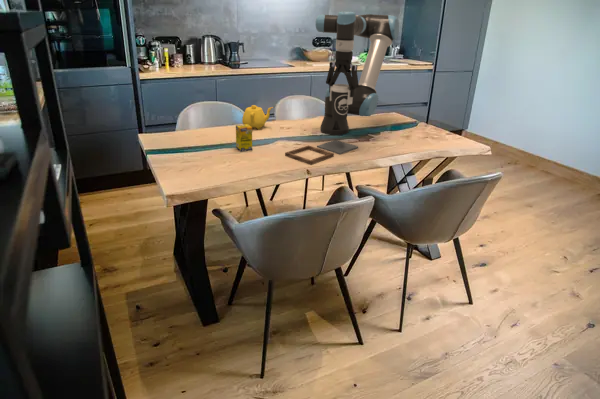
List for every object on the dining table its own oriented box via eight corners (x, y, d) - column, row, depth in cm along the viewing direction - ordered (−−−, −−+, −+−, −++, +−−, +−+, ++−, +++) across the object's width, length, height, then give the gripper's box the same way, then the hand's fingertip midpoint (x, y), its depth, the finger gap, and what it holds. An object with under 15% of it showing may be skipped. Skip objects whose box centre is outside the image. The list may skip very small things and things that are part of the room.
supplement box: (240, 151, 198) (239, 128, 193) (236, 148, 203) (235, 125, 198) (252, 150, 200) (252, 127, 196) (248, 146, 205) (247, 123, 201)
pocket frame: (285, 155, 195) (285, 152, 194) (308, 148, 205) (308, 145, 204) (310, 164, 185) (310, 161, 185) (333, 156, 196) (333, 153, 195)
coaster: (316, 147, 207) (317, 145, 206) (335, 141, 216) (335, 139, 216) (340, 154, 198) (340, 152, 198) (358, 148, 208) (358, 146, 207)
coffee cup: (352, 117, 203) (355, 85, 197) (345, 122, 195) (348, 88, 189) (333, 115, 207) (335, 82, 201) (326, 119, 199) (328, 86, 193)
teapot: (253, 132, 226) (253, 110, 221) (236, 127, 235) (235, 105, 230) (273, 128, 235) (273, 106, 230) (256, 122, 244) (255, 101, 239)
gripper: (319, 48, 193) (317, 99, 202) (359, 53, 179) (355, 107, 189) (330, 47, 198) (327, 97, 207) (370, 52, 184) (365, 105, 194)
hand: (340, 102), depth 198 cm, fingers closed on coffee cup, 9 cm apart
